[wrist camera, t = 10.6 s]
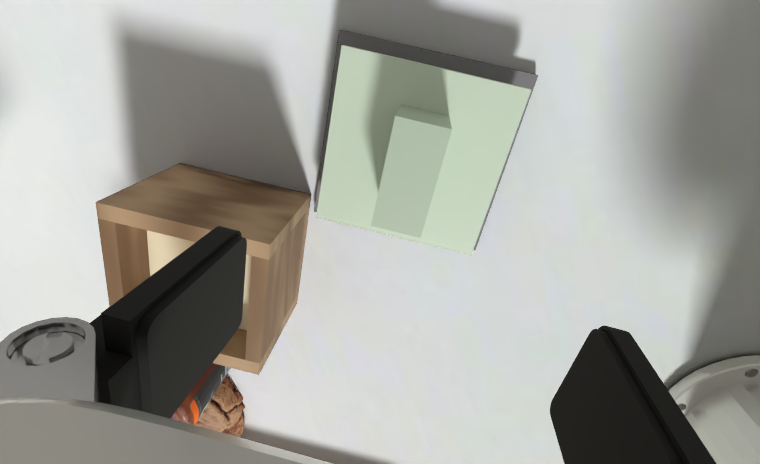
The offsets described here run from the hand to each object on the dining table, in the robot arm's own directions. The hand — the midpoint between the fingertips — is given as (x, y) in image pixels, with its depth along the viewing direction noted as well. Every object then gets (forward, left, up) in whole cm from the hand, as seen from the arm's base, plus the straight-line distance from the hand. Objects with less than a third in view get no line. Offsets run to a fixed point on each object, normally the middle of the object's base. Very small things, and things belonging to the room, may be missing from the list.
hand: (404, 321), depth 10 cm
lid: (+1, 0, -17) cm, 17 cm away
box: (+12, +10, -18) cm, 24 cm away
